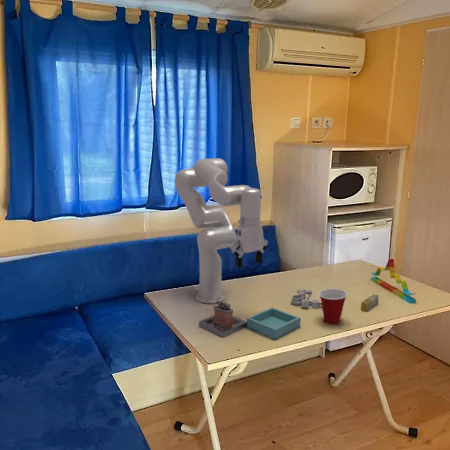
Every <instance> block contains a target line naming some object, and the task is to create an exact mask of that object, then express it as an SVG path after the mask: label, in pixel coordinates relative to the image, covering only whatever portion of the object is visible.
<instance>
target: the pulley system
mask: <svg viewBox="0 0 450 450" xmlns="http://www.w3.org/2000/svg"><path fill="white" fill-rule="evenodd" d="M296 292H297V293H298V294H296V295H295V294H294V295H292V296H291V300H290V304H291V305H292V306H294V307H302V308H309V307H311V308H312V309H319V308H320V309H322V310H323V308H322V302H319V300H318V299H312V300H311V301H310V300H309V299H310V297H311V295H312V290H311V289H302V288H299V289H297V290H296ZM306 295H308V297H307V296H306Z"/></svg>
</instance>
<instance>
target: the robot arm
mask: <svg viewBox="0 0 450 450" xmlns="http://www.w3.org/2000/svg"><path fill="white" fill-rule="evenodd" d="M228 169H229V168H228V165H227V163H226V161H225V160H224V159H222V158H220V157H219V158H218V157H217V158H213V157H212V158H202V159H198V160H197V161H196V162H195V163H194V165H193V168H192V167H191V168H184V169H181V170H179V171H177V173H176V174H175V178H174V182H175V183H174V184H175V189H176V192H177V194H178V196H179V197H180V198H181V200H182V201H183V203H184V206H186V207H185V208H186V210H187V212H188V215H189V216H190V219H191V221H192V224H193V225H194V227H195V228H196V229H202V230H201V231H199V232H198V234H197V236H196V241H197V243H196V244H197V248H198V252H199V253H198V254H199V257H198V259H199V284H197V285H196V287H194V290H195V291H197V294H196V295H195V296H196V297H195V299H196V301H198V302H200V303H202V304H216V301H221V302H224V301H225V299H226V297H225V296H226V295H225V294H224V293H223V292H222V265H223V264H222V258H221V256H220V254H219V252H218V250H223V249H227V248H230V250H231V253H232V255H233V256H234V257H235V266H236V267H237V268H239V269H242V268H243V263H244V261H243V255H244V254H248V253H253V252H255V262H256V263H258V264H260V265H261V264H263V254H264V253H265V250H266V249H267V245H268V243H269V240H266V239H265V238H264V230H263V229H264V228H263V225H262V223H261V201H262V200H261V199H262V198H261V197H262V193H261V190H260V189H258V188H256V187H255V188H254V187H251V186H250V185H246V184H239V185H230V186H229V185H228V186H226V184H227V183H228V179H229V178H228V174H227V173H228ZM203 187H204V188H205V187H206V188H207V187H208V192H209V195H210V198H211V199H212V200H213V201H215V202H216V203H217V204H215V205H207V203H206V201H205V198H204V197H203V195H202V194H201V193H200V192H198V190H196V189H194V188H203ZM232 206H234V207H235V206H239V207H240V209H239V217H240V218H239V219H238V220H237V221H238V222H237V223H238V224H239V225H238V227H237V228H238V229H237V233H236V229H235V228H234V226H233V223H232V221H231V219H230V217H229V214H228V212H227V211H226V209H225V208H224V207H232Z"/></svg>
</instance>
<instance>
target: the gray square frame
mask: <svg viewBox="0 0 450 450" xmlns="http://www.w3.org/2000/svg"><path fill="white" fill-rule="evenodd" d="M233 324H234V325H233ZM198 326H199V327H200V328H202V329H204V330H206V331H208V332H211V333H213V334H214V335H217V336H219V337H221V338H225V337H227V336H230V335H232V334H234V333H237V332H239V331H241V330H244V329H247V320H244V319H241V318H239V317H238V316H237V317H236V316H234V315H233V318H232V326H231V327H229V328H227V329H222V328H219V327H216V326H214V315H212V316H210V317H208V318H205V319H201V320H200V321H199V322H198Z"/></svg>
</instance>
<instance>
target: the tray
mask: <svg viewBox="0 0 450 450" xmlns="http://www.w3.org/2000/svg"><path fill="white" fill-rule="evenodd" d="M246 322H247V327H246V329H248V330H251V331H252V332H255V333H256V334H257V333H258V334H260V335H263V336H264V337H267V338H269V339H272V340H275V341H277V340H279V339H280V338H283V337H284V336H287V335H288V334H290V333H292V332H295V331H296V330H299V329H300V328H301V317H299V316H297V315H295V314H291V313H289V312H286V311H283V310H280V309H278V308H275V307H270V308H268V309H265V310H262V311H260V312H258V313H256V314H253V315H251V316H249V317H247V318H246Z"/></svg>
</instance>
